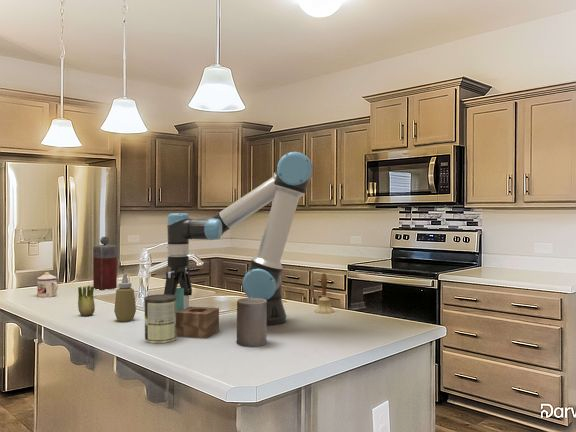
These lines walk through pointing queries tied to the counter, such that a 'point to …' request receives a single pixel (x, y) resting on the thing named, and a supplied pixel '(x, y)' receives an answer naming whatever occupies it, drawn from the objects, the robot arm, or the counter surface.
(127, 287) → the squeeze bottle
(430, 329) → the counter surface
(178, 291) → the dowel
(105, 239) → the glass decanter
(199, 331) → the socket block
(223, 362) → the counter surface
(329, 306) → the hand bell
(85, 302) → the fennel bulb
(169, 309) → the coffee can
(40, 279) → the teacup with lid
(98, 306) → the counter surface
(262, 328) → the pillar candle
